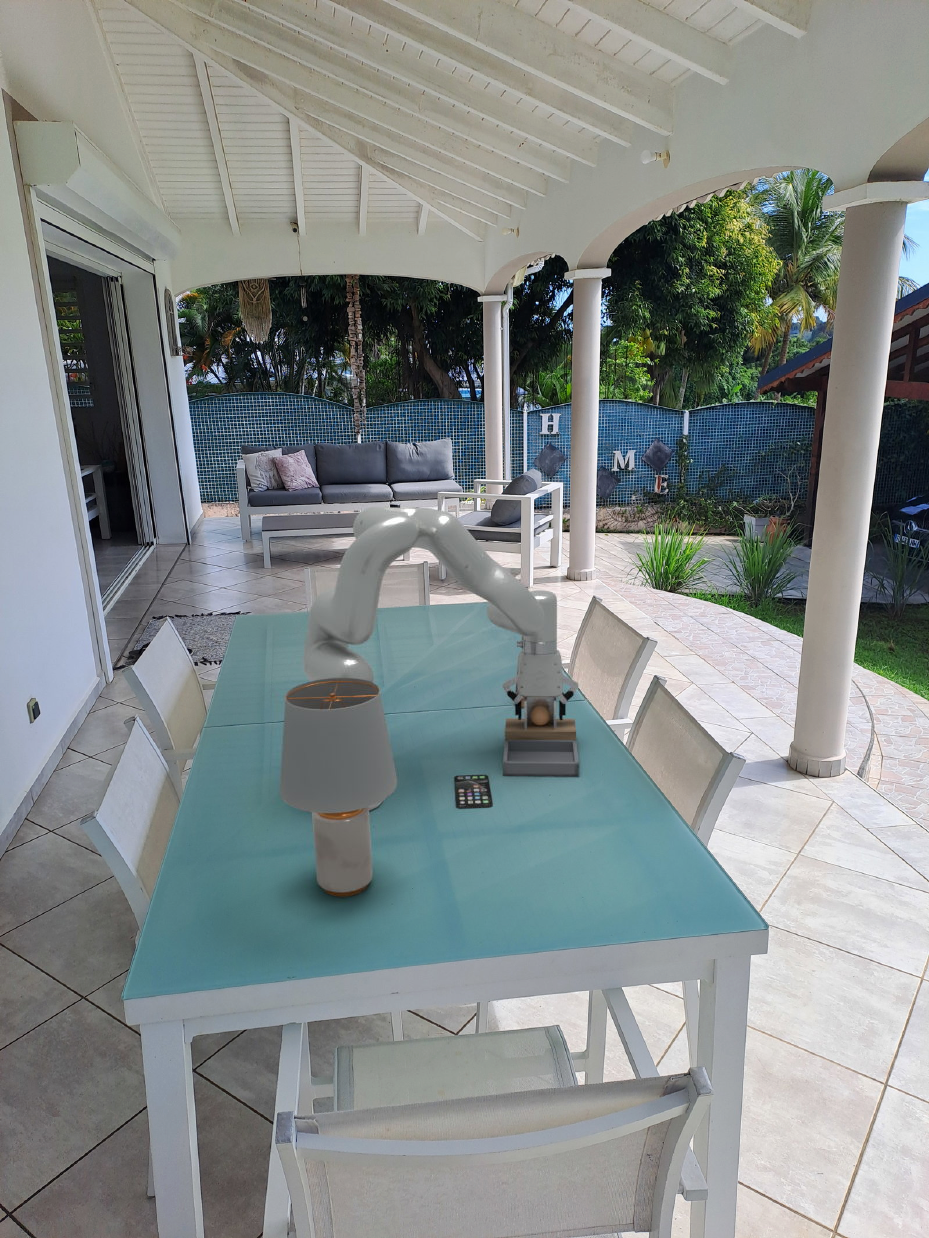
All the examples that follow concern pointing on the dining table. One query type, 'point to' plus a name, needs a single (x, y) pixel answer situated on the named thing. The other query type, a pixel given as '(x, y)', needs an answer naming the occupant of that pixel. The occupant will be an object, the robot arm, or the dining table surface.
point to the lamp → (337, 773)
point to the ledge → (540, 730)
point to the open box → (539, 701)
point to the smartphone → (472, 791)
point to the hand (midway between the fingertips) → (540, 717)
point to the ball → (540, 715)
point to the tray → (541, 758)
